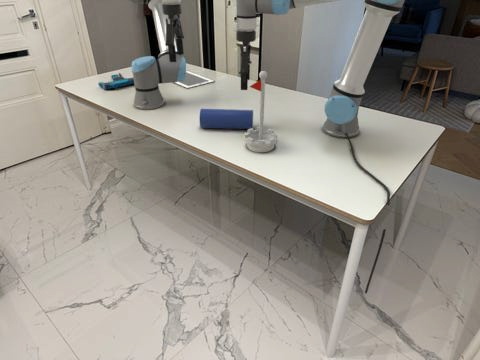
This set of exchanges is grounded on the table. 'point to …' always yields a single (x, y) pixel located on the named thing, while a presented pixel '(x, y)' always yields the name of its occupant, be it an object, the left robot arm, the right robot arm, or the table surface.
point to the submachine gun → (116, 82)
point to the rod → (226, 118)
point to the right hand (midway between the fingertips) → (245, 84)
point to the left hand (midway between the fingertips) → (177, 57)
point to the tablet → (193, 80)
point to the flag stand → (261, 124)
